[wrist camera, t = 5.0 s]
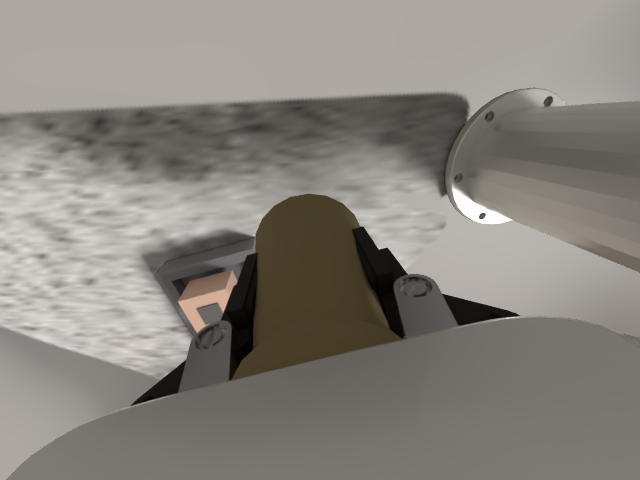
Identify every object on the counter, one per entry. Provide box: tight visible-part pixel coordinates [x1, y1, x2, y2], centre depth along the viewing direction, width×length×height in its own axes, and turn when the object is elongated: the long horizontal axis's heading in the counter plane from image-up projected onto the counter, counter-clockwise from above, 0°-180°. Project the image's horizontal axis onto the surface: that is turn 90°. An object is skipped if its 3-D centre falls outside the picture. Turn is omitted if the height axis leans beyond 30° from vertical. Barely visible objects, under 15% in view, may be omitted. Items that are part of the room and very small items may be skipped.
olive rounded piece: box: [232, 194, 401, 380], centre depth 9 cm, size 6×6×11 cm
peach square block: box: [178, 270, 237, 333], centre depth 22 cm, size 4×4×3 cm
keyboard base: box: [155, 238, 256, 336], centre depth 28 cm, size 9×19×2 cm, turn 13°
